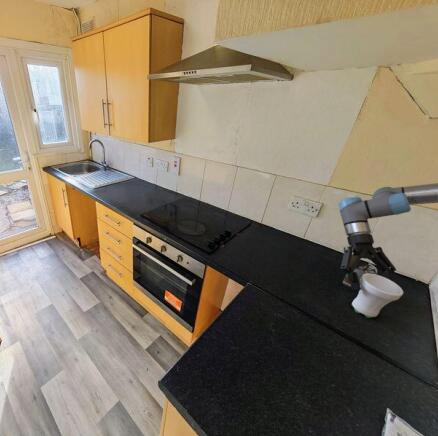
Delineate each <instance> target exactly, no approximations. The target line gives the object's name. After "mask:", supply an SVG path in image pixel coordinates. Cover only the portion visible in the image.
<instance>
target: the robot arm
mask: <svg viewBox="0 0 438 436" xmlns="http://www.w3.org/2000/svg"><path fill="white" fill-rule="evenodd" d="M425 204H427V205H428V204H438V182H435V183H426V184H425V183H424V184H417V185H407V186H397V187H391V186H382V187H379V188H377V189H376V190H375V191H374V192H373V194H372V197H371V199H365V200H363V199H362V198H361V197H359V196H353V197H346V198H344V199H341V200H340V201H339V202H338V207H339V208H338V209H339V213H340V217H341V220H342V225H343V228H344V231H345V235H346V236H347V237H346V240H347V243H348V246H344V247H343V256H342V259H341V260H342V261H341V264H340V270H341V271H343V272H344V273H346V275H347V274H348V279H349V281H350V282H351V286H352V288H351V290H352V291H360V290H361V287H360V283H359V279H358V275H357V272H354V270H355V268H356V267H357V266H359V263H360V261H361V259H364V260H366V259H367V260H368V261H371V262H372V263H373V264H374V266H375V267H376V268H378V269H379V270H380V271H381V274H380V275H381V276H382V277H385V278H387V279H389V280H391V281H393V282H395V281H394V280H395V279H394V276H393V273H395V271H397V268H396V267H395V265H394V264H393V262H392V261H391V259H389V257H388V256H387V255H386V253H385V252H384V250H383V248H382V247H381V246H375V247H374V244H375V240H374V237H373V234H371V233H372V230H371V227H370V224H369V220H370V219H377V218H383V217H391V216H398V215H402V214H405V213H409V212H411V210H412V208H411V205H425Z"/></svg>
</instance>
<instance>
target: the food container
mask: <svg viewBox="0 0 438 436" xmlns="http://www.w3.org/2000/svg"><path fill="white" fill-rule="evenodd" d="M354 272H357V275H358V279H359V283H360V279H361V277H362V276H363V274H375V275H378V269H377V266H376V265H373V264H372V263H371V262H368V264H365V265H357V266H356V268H355V270H354ZM341 284H342V285H344V286H346V287H348V288H350V289H352V286H351V282H350V281H349V279H348V274H347V273H346V274H345V276H344V278H343V281H342V282H341Z"/></svg>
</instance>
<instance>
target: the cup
mask: <svg viewBox="0 0 438 436" xmlns="http://www.w3.org/2000/svg"><path fill="white" fill-rule="evenodd" d="M360 287H361V290H358V294H357V296H356V297H355V298H354V299H353V301H352V302H351V307H353V309H354V311H355V313H357V314H361V315H364V317H365V318H367V319H370V318H376V317H377V316H378V315H379V314H380V311H381V310H382V309H383V308H384V307H385V306H386V305H388V304H390V303H391V302H394V301H397V300H399V299H400V298H401V297H402V296H403V295H404V290H403V289H402V287H400V285H399V284H398V283H396V282H395V281H391V280H389V279H387V278H385V277H382V275H379V274H377V275H375V274H363V276H362V277H361V279H360Z"/></svg>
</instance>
